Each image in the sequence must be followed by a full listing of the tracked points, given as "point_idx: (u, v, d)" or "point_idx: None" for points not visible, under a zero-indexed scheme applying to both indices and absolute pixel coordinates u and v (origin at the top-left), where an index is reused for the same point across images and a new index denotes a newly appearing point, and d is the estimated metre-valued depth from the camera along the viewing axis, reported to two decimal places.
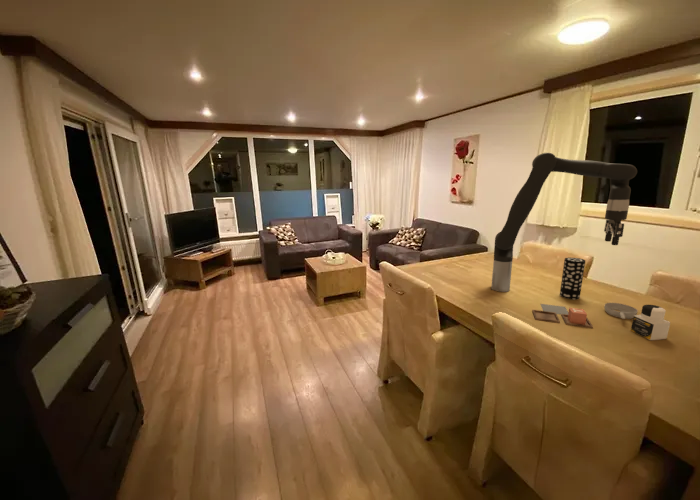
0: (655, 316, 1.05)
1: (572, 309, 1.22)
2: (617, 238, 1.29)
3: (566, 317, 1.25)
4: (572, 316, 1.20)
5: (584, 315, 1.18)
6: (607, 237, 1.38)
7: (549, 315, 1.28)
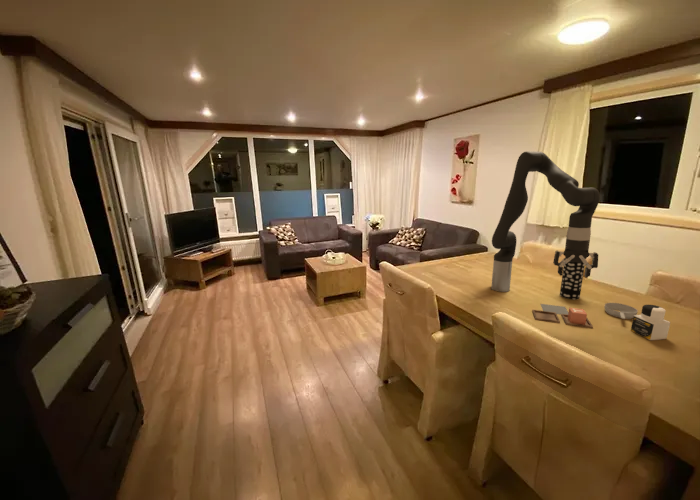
0: (655, 316, 1.05)
1: (572, 309, 1.22)
2: None
3: (566, 317, 1.25)
4: (572, 316, 1.20)
5: (584, 315, 1.18)
6: None
7: (549, 315, 1.28)
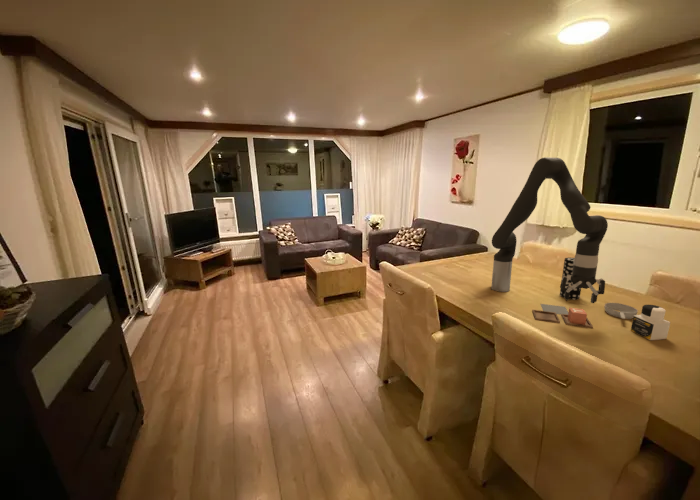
0: (655, 316, 1.05)
1: (572, 309, 1.22)
2: None
3: (566, 317, 1.25)
4: (572, 316, 1.20)
5: (584, 315, 1.18)
6: None
7: (549, 315, 1.28)
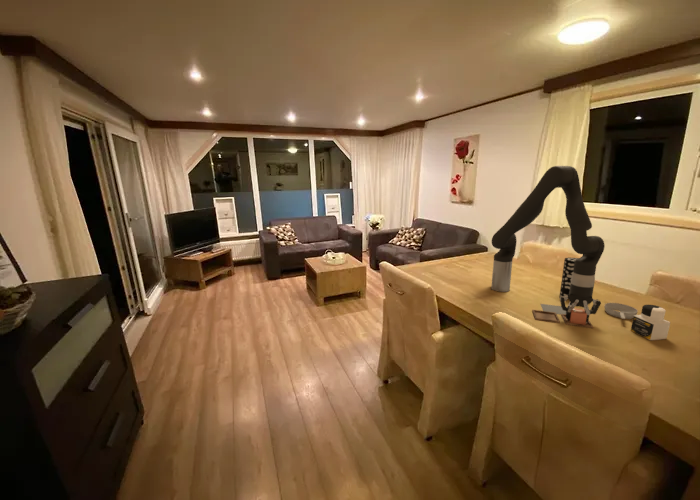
0: (655, 316, 1.05)
1: (572, 309, 1.22)
2: (588, 314, 1.19)
3: None
4: (572, 316, 1.20)
5: (584, 315, 1.18)
6: (570, 315, 1.22)
7: (549, 315, 1.28)
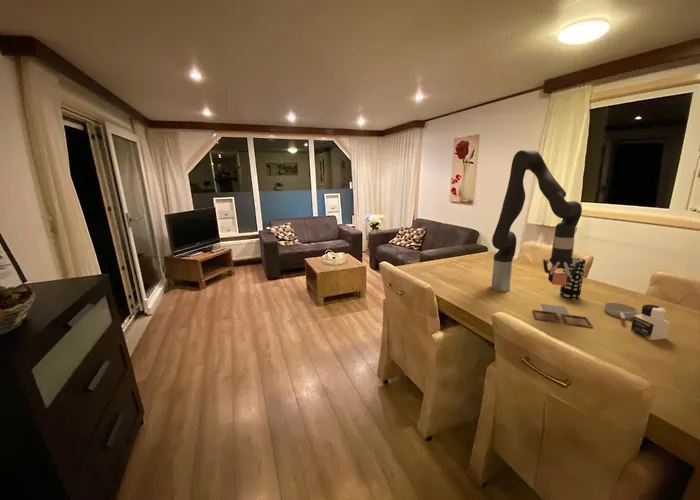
0: (655, 316, 1.05)
1: (554, 272, 1.30)
2: None
3: (566, 317, 1.25)
4: (554, 277, 1.28)
5: (565, 276, 1.26)
6: None
7: (549, 315, 1.28)
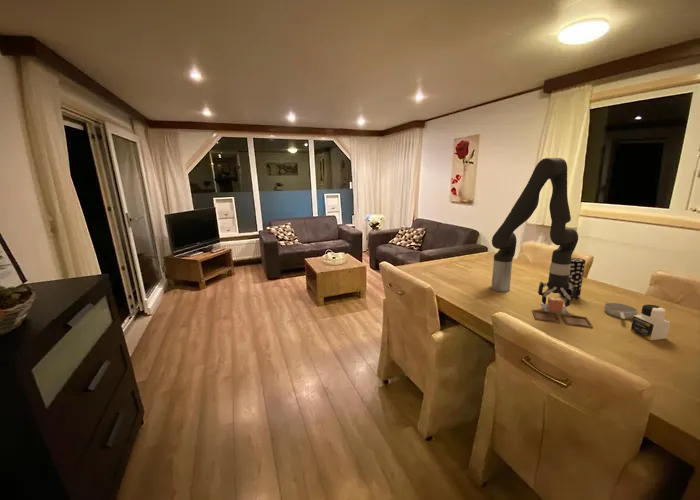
0: (655, 316, 1.05)
1: (551, 298, 1.33)
2: (569, 299, 1.30)
3: (566, 317, 1.25)
4: (550, 304, 1.31)
5: (561, 303, 1.29)
6: (545, 300, 1.34)
7: (549, 315, 1.28)
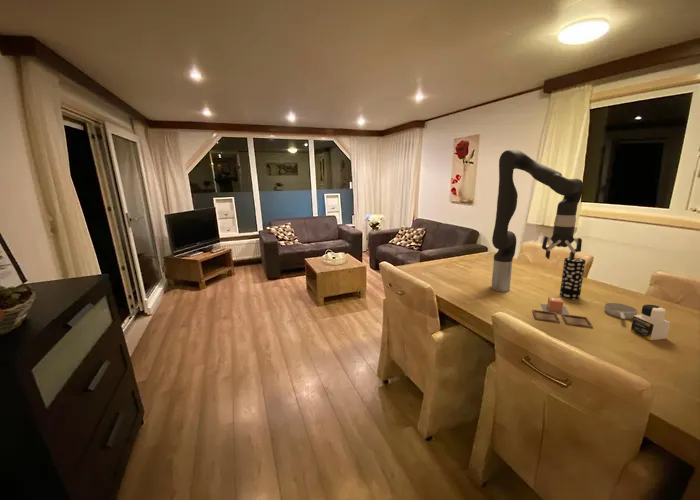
0: (655, 316, 1.05)
1: (551, 298, 1.33)
2: None
3: (566, 317, 1.25)
4: (550, 304, 1.31)
5: (561, 303, 1.29)
6: (549, 254, 1.31)
7: (549, 315, 1.28)
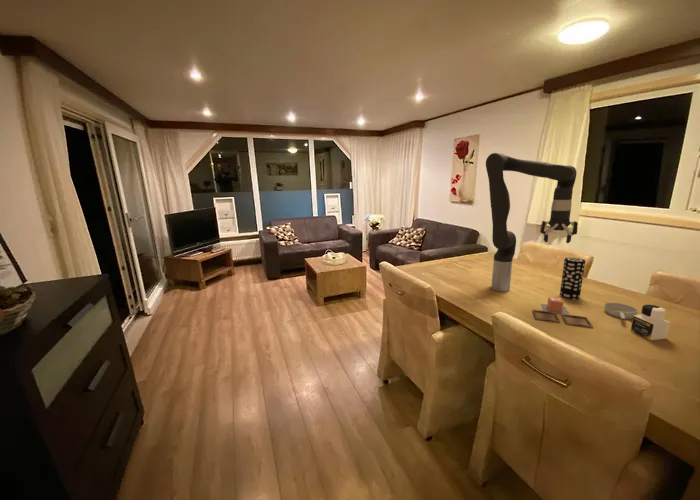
0: (655, 316, 1.05)
1: (551, 298, 1.33)
2: (570, 236, 1.35)
3: (566, 317, 1.25)
4: (550, 304, 1.31)
5: (561, 303, 1.29)
6: (547, 238, 1.38)
7: (549, 315, 1.28)
